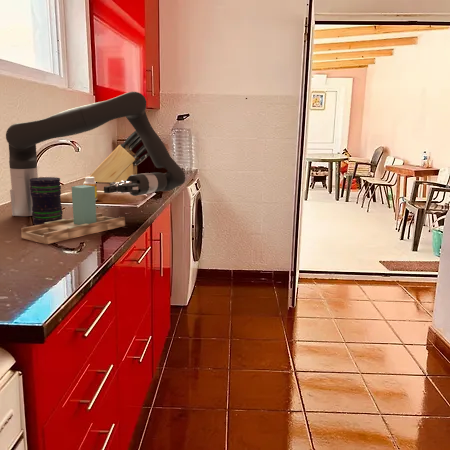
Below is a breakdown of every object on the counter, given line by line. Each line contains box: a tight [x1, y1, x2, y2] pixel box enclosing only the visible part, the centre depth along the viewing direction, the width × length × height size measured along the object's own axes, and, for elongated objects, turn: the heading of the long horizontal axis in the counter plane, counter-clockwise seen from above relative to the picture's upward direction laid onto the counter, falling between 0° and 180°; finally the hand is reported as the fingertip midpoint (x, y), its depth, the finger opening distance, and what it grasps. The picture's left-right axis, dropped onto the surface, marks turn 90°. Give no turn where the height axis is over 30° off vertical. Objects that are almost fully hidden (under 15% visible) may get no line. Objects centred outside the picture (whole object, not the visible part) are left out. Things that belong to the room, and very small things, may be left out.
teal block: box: [71, 184, 97, 225], centre depth 147 cm, size 5×5×12 cm
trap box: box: [20, 212, 126, 245], centre depth 146 cm, size 30×12×3 cm, turn 145°
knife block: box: [88, 130, 150, 183], centre depth 264 cm, size 11×35×31 cm, turn 89°
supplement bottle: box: [82, 176, 98, 201], centre depth 204 cm, size 6×6×10 cm
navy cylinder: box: [30, 176, 63, 225], centre depth 158 cm, size 10×10×15 cm
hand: (105, 190), depth 153 cm, fingers closed
